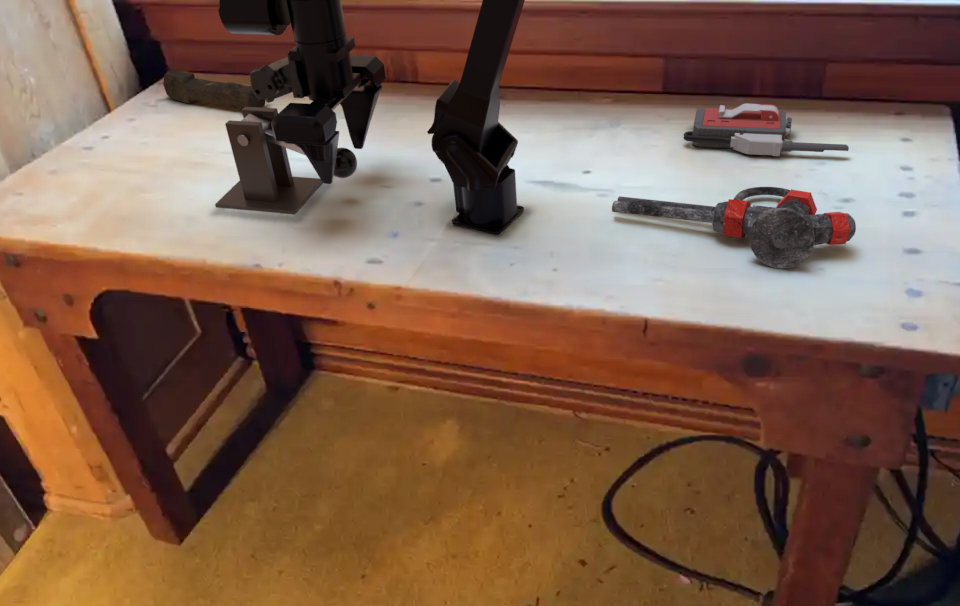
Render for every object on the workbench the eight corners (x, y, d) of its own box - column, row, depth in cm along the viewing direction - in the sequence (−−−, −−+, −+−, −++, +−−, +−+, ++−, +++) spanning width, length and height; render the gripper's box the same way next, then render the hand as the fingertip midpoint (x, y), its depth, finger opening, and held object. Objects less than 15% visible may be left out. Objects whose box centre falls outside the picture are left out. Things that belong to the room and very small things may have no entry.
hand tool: (270, 106, 139) (263, 77, 136) (253, 116, 136) (246, 87, 133) (180, 91, 147) (172, 63, 144) (162, 101, 144) (154, 72, 142)
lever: (359, 173, 110) (363, 148, 108) (347, 187, 108) (351, 162, 105) (250, 132, 112) (252, 106, 109) (236, 145, 109) (237, 119, 106)
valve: (862, 226, 102) (843, 279, 91) (640, 201, 113) (599, 245, 101) (871, 172, 99) (853, 219, 88) (642, 151, 110) (600, 191, 98)
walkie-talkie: (680, 154, 116) (847, 162, 111) (683, 122, 113) (853, 129, 108) (687, 125, 122) (844, 132, 117) (689, 94, 119) (850, 99, 114)
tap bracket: (324, 187, 116) (308, 103, 109) (295, 220, 110) (276, 133, 103) (249, 181, 119) (228, 99, 112) (217, 212, 113) (192, 128, 106)
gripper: (291, 6, 108) (316, 128, 117) (212, 64, 94) (247, 197, 104) (378, 7, 105) (395, 133, 114) (308, 68, 91) (335, 205, 100)
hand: (343, 165), depth 108 cm, fingers open, 9 cm apart
